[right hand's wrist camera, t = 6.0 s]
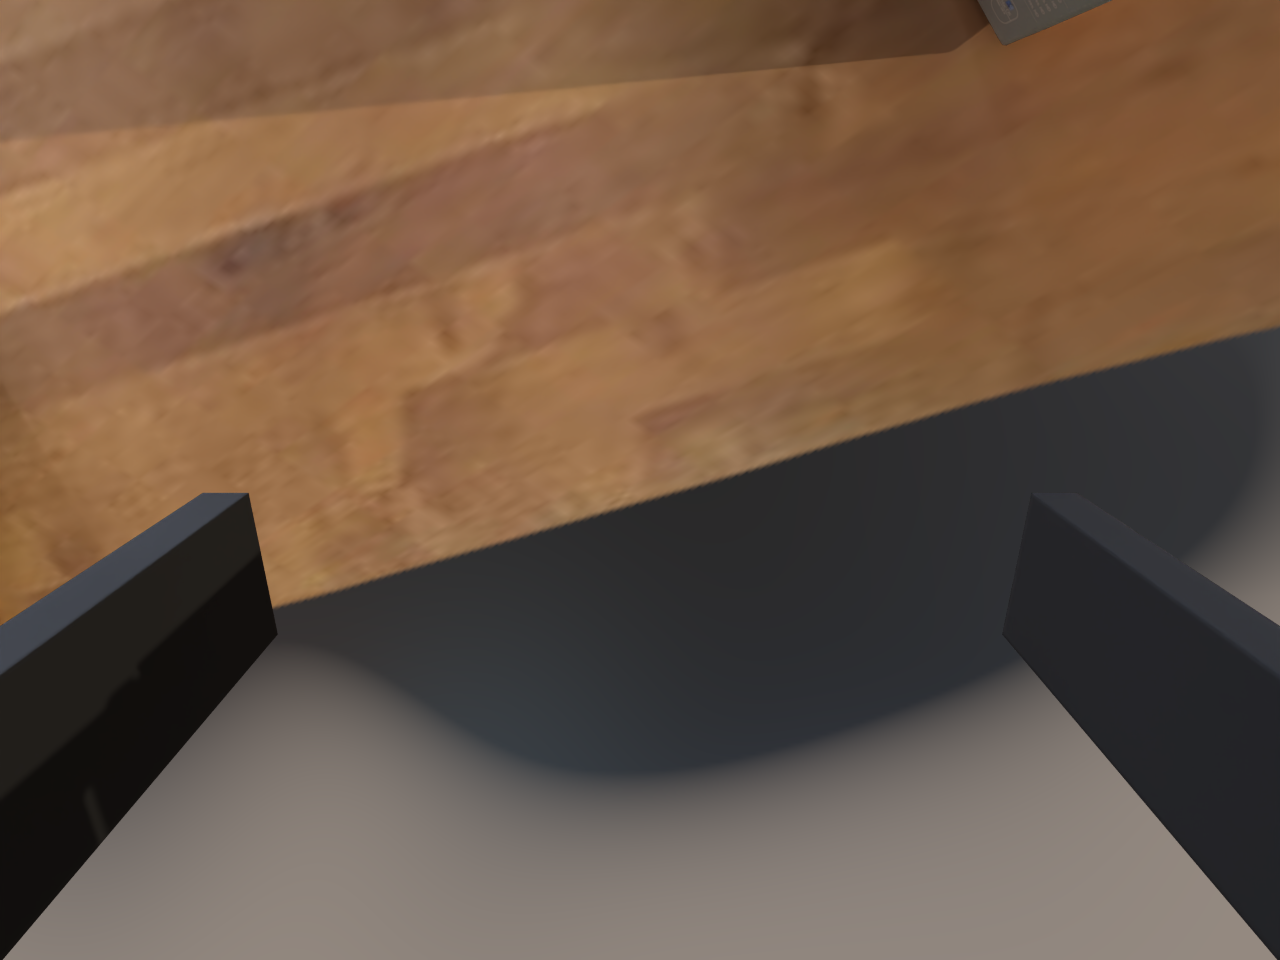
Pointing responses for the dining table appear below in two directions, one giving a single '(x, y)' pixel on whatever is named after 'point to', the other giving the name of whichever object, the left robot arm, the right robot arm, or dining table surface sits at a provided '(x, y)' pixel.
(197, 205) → the dining table surface
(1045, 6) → the hard drive box
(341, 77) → the dining table surface
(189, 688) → the right robot arm
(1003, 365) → the dining table surface
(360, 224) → the dining table surface
